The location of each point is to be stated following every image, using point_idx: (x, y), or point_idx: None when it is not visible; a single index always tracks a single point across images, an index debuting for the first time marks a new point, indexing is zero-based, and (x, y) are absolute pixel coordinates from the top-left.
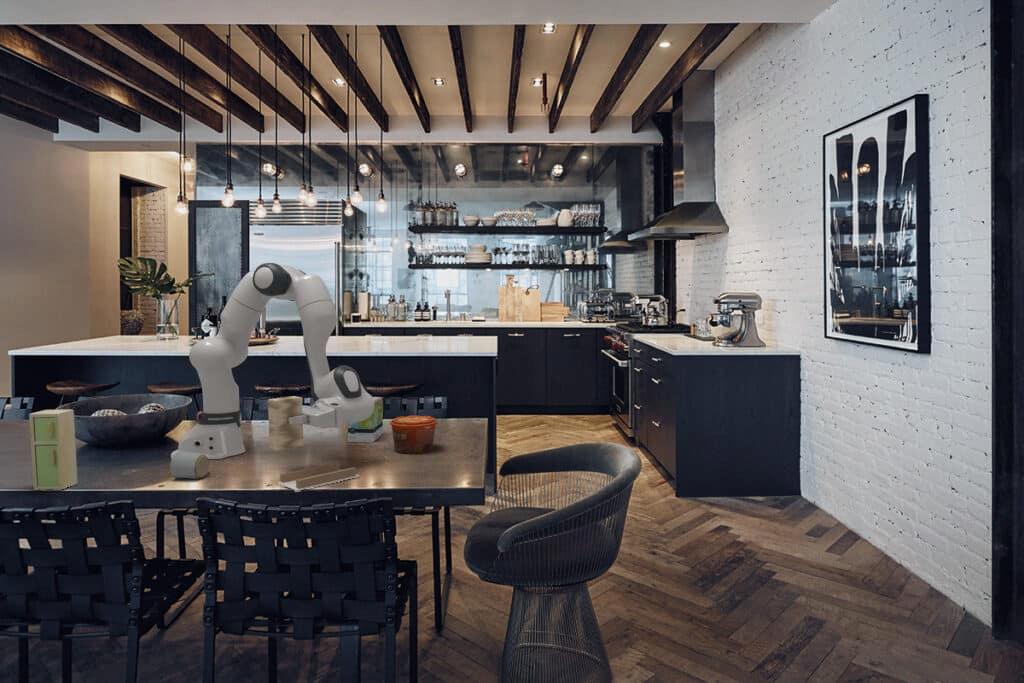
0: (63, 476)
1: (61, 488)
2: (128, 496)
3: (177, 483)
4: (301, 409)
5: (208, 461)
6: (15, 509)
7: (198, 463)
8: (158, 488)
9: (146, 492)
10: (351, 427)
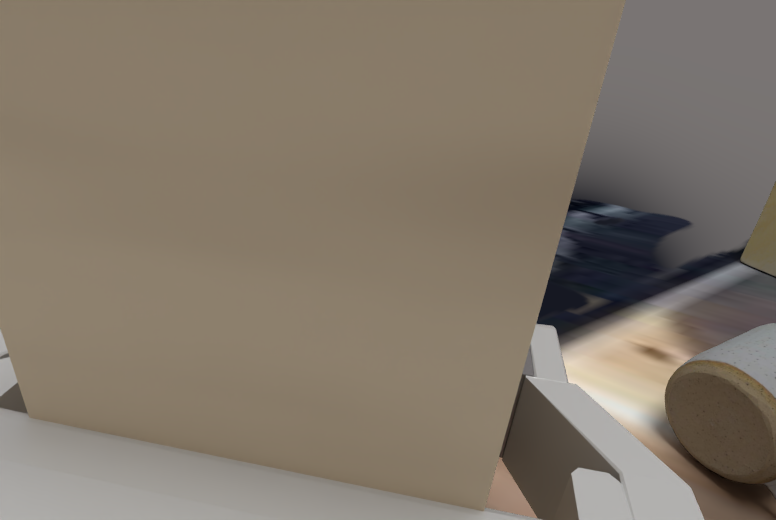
0: (760, 234)
1: (741, 256)
2: (578, 283)
3: (659, 385)
4: (28, 333)
5: (768, 446)
6: (616, 208)
7: (685, 375)
8: (621, 336)
9: (591, 309)
10: None
